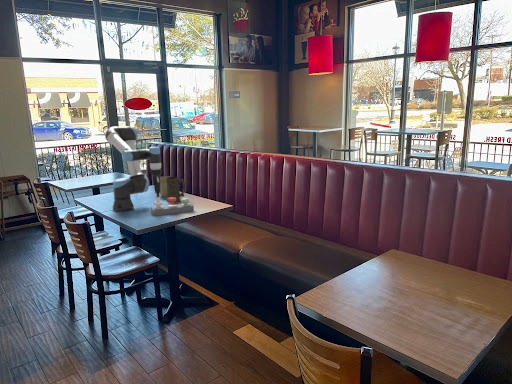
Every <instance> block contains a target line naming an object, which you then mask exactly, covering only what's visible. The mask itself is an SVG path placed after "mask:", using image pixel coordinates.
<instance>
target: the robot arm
mask: <svg viewBox="0 0 512 384" xmlns="http://www.w3.org/2000/svg"><path fill="white" fill-rule="evenodd" d="M104 138H105V140H106V141H107V143H108V144H110V145H113V147H114V148H115V149H116V150H117V151H118V152H120V153H121V158H122V160H123V162H127V165H128V170H129V175H130V176H129V177H121V178H117V179H114V180H113V181H112V189H113V199H114V201H113V204H112V211H113V212H129V211H131V210H134V209H135V205H134V203H133V201H132V198H131V195H135V194H142V193H147V192H148V191H149V188H150V180H149V178H148V177H147V176H145V173H143V172H142V169H141V168H142V167H141V163H140V161H145V160H149V169H150V175H152V176H153V177H152V179H153V187H154V194H155V201H156V202H159V201H161V195H160V177H161V176H160V175H162V169H161V168H162V165H163V164H162V161H161V160H162V159H161V157H162V155H161V148H160V147H159V146H150V147H148V148H142V149H137V147H136V145H135V144H136V143H137V140H138V132H137V130H136V128H135V127H134V126H132V125H130V126H129V125H122V126H121V125H119V126H111V127H109V128H108V129H107V130H106V131H105V135H104Z"/></svg>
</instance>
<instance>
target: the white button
mask: <svg viewBox="0 0 512 384" xmlns="http://www.w3.org/2000/svg"><path fill="white" fill-rule="evenodd" d="M153 206H155V207H157V208H159V207H161V206H163V200H160V201H159V202H156V200H155V201H153Z"/></svg>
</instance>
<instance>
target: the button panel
mask: <svg viewBox="0 0 512 384" xmlns="http://www.w3.org/2000/svg"><path fill="white" fill-rule="evenodd" d="M194 207H195V206H194V204H192V203H191V202H188V204H183V203H178V204H169V205H161V207H159V208H157V207H156V206H151V207H150V211H151V212H150V213H151V214H152V215H153V216H154V217H155V216H156V215H157V216H163V215H164V214H165V215H172V214H173V215H174V214H180V213H188V212H194V211H195V210H194V209H195V208H194Z"/></svg>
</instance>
